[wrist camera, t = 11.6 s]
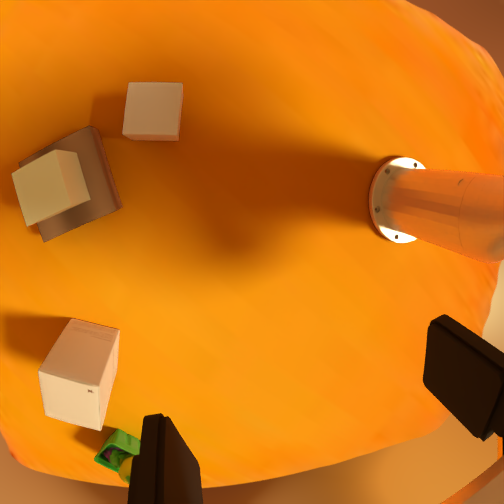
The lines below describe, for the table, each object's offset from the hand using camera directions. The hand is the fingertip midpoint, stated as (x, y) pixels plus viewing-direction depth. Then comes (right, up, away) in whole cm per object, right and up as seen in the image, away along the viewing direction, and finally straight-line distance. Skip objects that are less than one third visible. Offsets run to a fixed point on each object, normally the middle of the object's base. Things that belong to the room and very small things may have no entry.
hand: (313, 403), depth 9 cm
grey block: (-13, +20, +23) cm, 34 cm away
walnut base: (-23, +13, +23) cm, 35 cm away
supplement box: (-24, -8, +28) cm, 38 cm away
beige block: (-23, +12, +19) cm, 32 cm away
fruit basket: (-23, -28, +34) cm, 50 cm away
